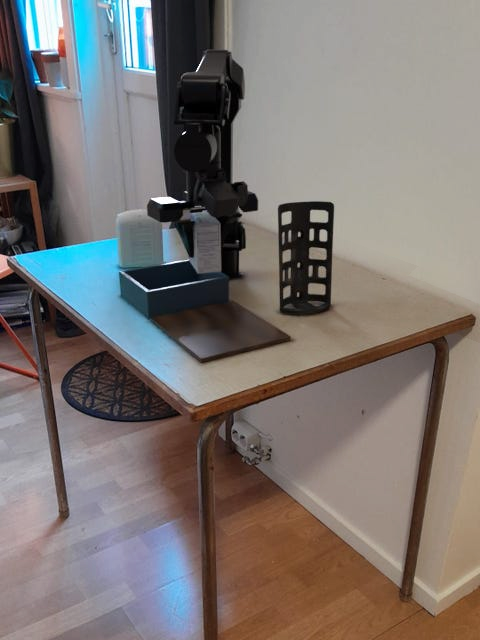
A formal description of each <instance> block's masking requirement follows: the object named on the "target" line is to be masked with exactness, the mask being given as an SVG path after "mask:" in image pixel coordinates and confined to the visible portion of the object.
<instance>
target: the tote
mask: <svg viewBox="0 0 480 640" xmlns="http://www.w3.org/2000/svg"><path fill="white" fill-rule="evenodd" d="M118 278H119V291H120V297H121V298H122V299H123V300H125V301H126V302H127V303H128V304H129V305H131V306H132V307H133V308H134V309H136V311H138V312H139V313H140V314H141V315H143V316H144V317H145V318H147V319H148V320H150V318H152V317H156V316H161V315H166V314H171V313H176V312H181V311H185V310H190V309H195V308H200V307H205V306H209V305H214V304H219V303H224V302H229V301H230V279H229V276H227V275H225V274H223V273H222V272H217V273H204V274H198V273H197V272H196V270H195V269H194V267H193V266H192V264H191V263H190V261H189V258H188V259H183V260H177V261H170V262H165V263H164V264H159V265H153V266H145V267H134V268H129V269H124V270H119V271H118Z"/></svg>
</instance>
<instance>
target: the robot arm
mask: <svg viewBox="0 0 480 640" xmlns="http://www.w3.org/2000/svg"><path fill="white" fill-rule="evenodd" d="M232 53H233V52H232V51H229V50H228V49H207V50H203V51H202V56H201V61H200V64H199V66H198V67H197V69H196V71H190V72H186V73H183V74H182V76H181V77H180V81H178V82H177V84H176V89H175V90H176V91H175V103H174V113H173V125H175V126H183V133H181V134H180V135H179V137H177V139H176V141H175V143H174V147H173V156H174V159H175V161H176V163H177V164H178V166H179V167H180V168H181V169H182V173H183V174H185V179H186V180H185V181H186V182H185V183H186V191H183V193H182V194H183V196H182V197H183V199H186V200H181V201H179V200H177V199H176V198H173V197H171V196H164V197H162V196H161V197H152V198H149V201H148V202H147V204H146V210H147V214H148V216H149V217H151V218H153V219H155V220H157V221H159V222H162V224H163V223H164V224H167V223H172V224H173V226H174V228H175V229H176V231H177V233H178V236H179V238H180V240H181V242H182V244H183V247H184V248H185V251H186V253H187V256H188V258H189V257H190V258H193V256H194V244H193V226H194V224H195V221H194V220H192V219H191V218H190V213H198V212H208V213H209V214H210V215H211V216H212V217H215V218H216V219H217V220H218V221H219V222H220V227H221V272H222V273H223V274H225V275H227V276H229V280H232V279H236V278H242V277H243V276H244V273H242V272H240V252H242V250H245V249H246V248H247V235H246V234H247V233H246V228H245V226H244V225H243V221H241V220H240V219H241V218H242V217H243V213H251V212H252V213H253V212H257V211H259V198H258V196H257V195H256V192H255V193H254V192H253V191H249V189H248V187H249V185H248V184H247V183H246V182H245V181H244V180H243V181H235V182H233V181H234V180H233V179H234V178H233V175H234V173H233V172H234V170H233V169H234V159H233V158H234V122H235V120H236V118H237V116H238V115H239V113H240V111H241V109H242V100H245V94H246V79H245V72H244V68H243V67H242V66H241V65H240V64H239V63H237V62H236V60H234V58H233V54H232ZM240 210H241V212H243V213H241V212H240Z"/></svg>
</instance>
